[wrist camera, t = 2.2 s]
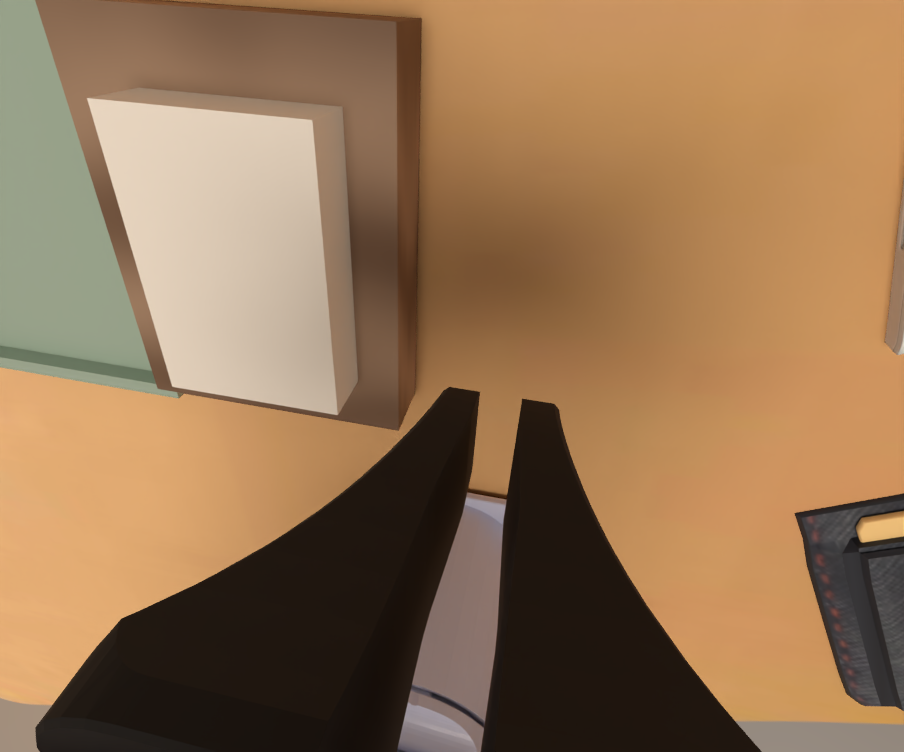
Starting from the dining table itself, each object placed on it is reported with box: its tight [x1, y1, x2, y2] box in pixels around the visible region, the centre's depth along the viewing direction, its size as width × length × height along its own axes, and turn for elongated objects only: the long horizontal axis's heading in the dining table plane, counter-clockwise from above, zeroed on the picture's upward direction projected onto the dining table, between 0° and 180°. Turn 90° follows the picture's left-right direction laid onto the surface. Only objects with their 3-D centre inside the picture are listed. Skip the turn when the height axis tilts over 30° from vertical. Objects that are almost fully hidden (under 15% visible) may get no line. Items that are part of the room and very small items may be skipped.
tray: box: [0, 0, 184, 398], centre depth 21 cm, size 16×11×1 cm
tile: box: [87, 88, 358, 415], centre depth 17 cm, size 9×6×2 cm, turn 177°
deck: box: [35, 0, 421, 431], centre depth 19 cm, size 13×10×2 cm
